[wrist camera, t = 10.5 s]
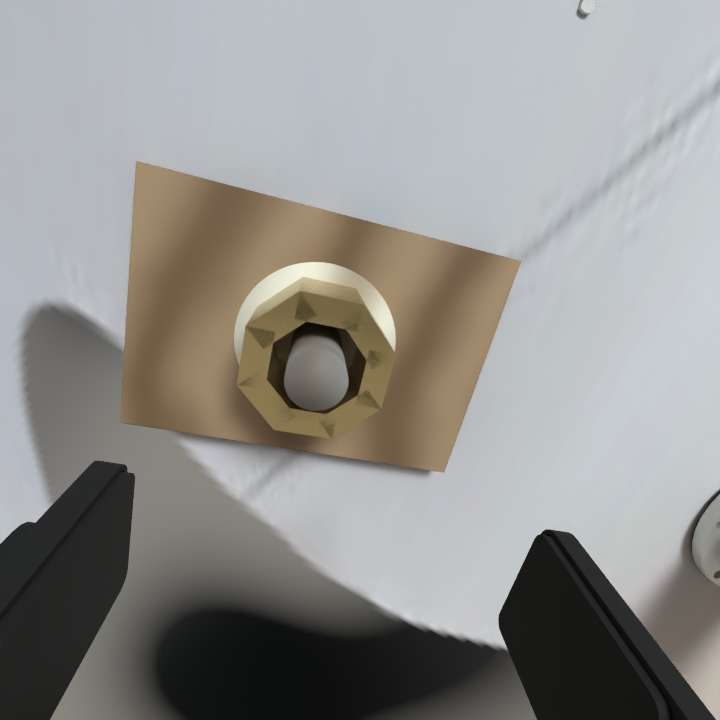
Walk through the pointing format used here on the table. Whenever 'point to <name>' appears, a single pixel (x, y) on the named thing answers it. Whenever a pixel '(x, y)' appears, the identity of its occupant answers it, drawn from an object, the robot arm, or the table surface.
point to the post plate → (264, 236)
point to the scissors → (586, 6)
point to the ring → (267, 370)
